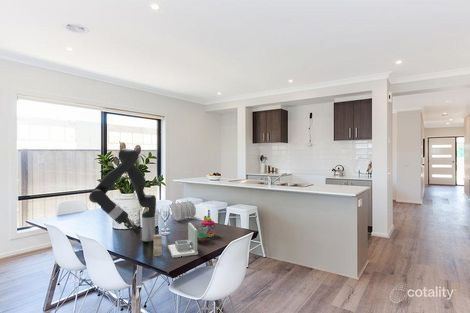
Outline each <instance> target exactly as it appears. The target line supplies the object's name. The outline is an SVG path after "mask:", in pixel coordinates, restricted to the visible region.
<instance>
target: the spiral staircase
mask: <svg viewBox="0 0 470 313" xmlns="http://www.w3.org/2000/svg"><path fill="white" fill-rule="evenodd" d="M169 206H170V208H171V210H170V212H171V215H172V218H173V219H174V221H178V222H179V221H180V220H182V221H183V220H185V219H190V218H194V217H195V216H196V214H197V211H196V210H197V208H196V205H195V203H194V202H192V201H191V200H186V201H183V200H181V202H179V201H178V202H177V203H176V202H175V203H174V202H172V203H170V204H169V205H168V207H169Z"/></svg>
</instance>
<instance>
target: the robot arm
mask: <svg viewBox="0 0 470 313" xmlns="http://www.w3.org/2000/svg"><path fill="white" fill-rule="evenodd" d="M139 158H140V156H139V152H138V151H137V150H134V149H131V148H124V147H123V148H121V149H120V150H119V151H118V160H119V161H120V163H121V164H120V165H118V166H117V167H116V168H114V169H112V170H110V171H109V172H108V173H106V175H104V177H103V178H102V180H101V181H100V182H99V184H97V186H96V187H95V188H94V189H93V190H91V192H90V193H89V196H88V199H89V201H90V202H92V203H94V204H98V205H99V206H100V207H101V209H102V211H103V212H105V213H106V214H107V215H108V216H109V218H111V219H112V220H113V221H114V222H115V223H117V224H118V225H121V224H122V223H123V224H124V225H123V226H124V227H125V228H127V229H128V230H129V231H130V232H133V233H134V234H135V235H136V236H137V235H139V234H140V230H139V229H140V228H139V227H138V226H137V225H136V224H135V222H134V221H133V220H132V219H130V218H129V214H128V212H126V211H125V210H124V209H123V208H122V207H120V206H119V205H118V204H116V203H115V202H114V200H113V201H112V200H111V199H110V197H109V196H108V195H107V193H108V191H110V190H111V189H112V187H113V186H114V185H115V184H116V182H118V180H119V179H120V178H121V176H123V175H124V174H125V173H126V174H127V176H128V178H129V180H130V182H131V185H132V187H133V189H134V191H135V194H136V197H137V200H138V203H139V205H140V207H142V208H147V209H148V210H146V211H144V212H142V213H141V241H142V242H152V241H153V242H154V235H156V210H157V198H156V197H157V196H156V195H154V194H145V191H144V190H145V188H146V184H147V181H146V177H145V175H144V173H143V172H142V171H141V170H140V169H139V168H138V167H137V165H135V164H136V163H137V161H138V160H139Z"/></svg>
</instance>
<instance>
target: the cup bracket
mask: <svg viewBox="0 0 470 313" xmlns="http://www.w3.org/2000/svg"><path fill="white" fill-rule="evenodd" d="M187 226H188V227H187V229H188V230H187V232H188V234H187V235H188V236H187V238H188V239H185V240H184V239H183V240H175V242H174V243H173V244H169V245H167V249H168V251H169V253H170V255H171V257H172V258H179V257H181V256H182V257H187V256H194V255H199V252H198V242H197V228H196V226H194V225H193V223H191V222H188V225H187ZM182 257H181V258H182Z"/></svg>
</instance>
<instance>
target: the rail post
mask: <svg viewBox="0 0 470 313" xmlns="http://www.w3.org/2000/svg"><path fill="white" fill-rule="evenodd" d="M162 240H163V238H162V234H161V233H160V234H155V235H154V240H153V248H152V249H153V253H152V254H153V256H154V257H159V256H162V254H163V253H162V250H163V249H162V246H163V244H162V243H163V242H162Z"/></svg>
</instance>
